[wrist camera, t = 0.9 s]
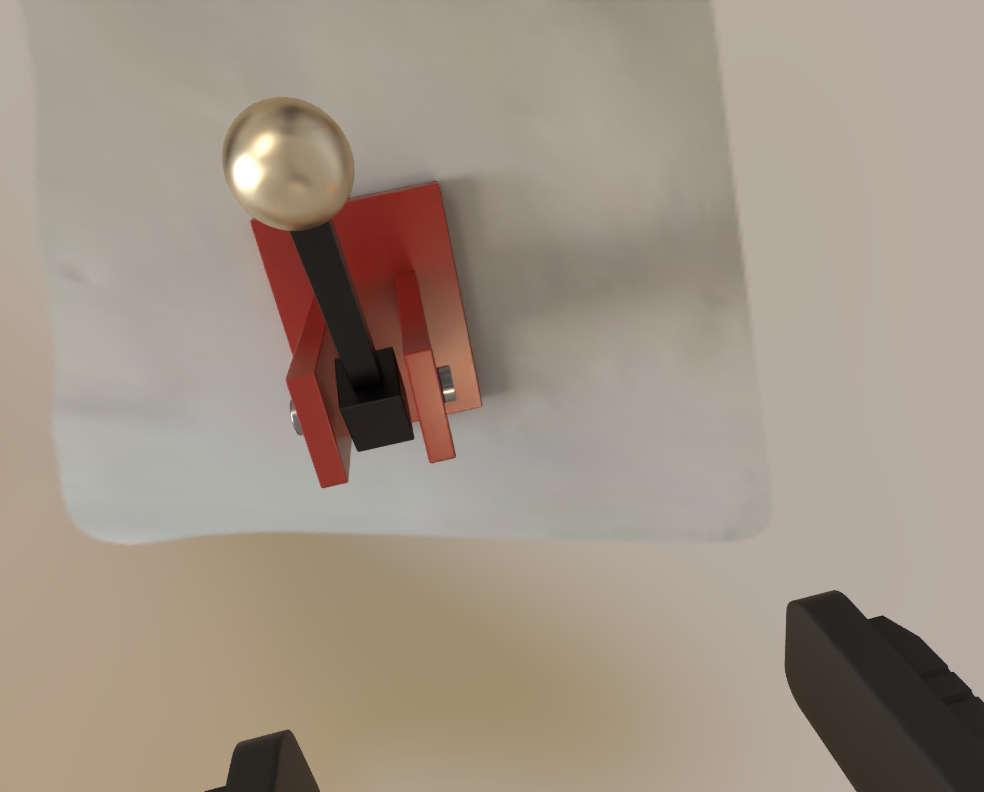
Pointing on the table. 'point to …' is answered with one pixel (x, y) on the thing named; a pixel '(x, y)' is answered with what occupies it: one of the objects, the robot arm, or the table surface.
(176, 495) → the table surface
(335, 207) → the lever
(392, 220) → the bracket
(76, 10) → the table surface
